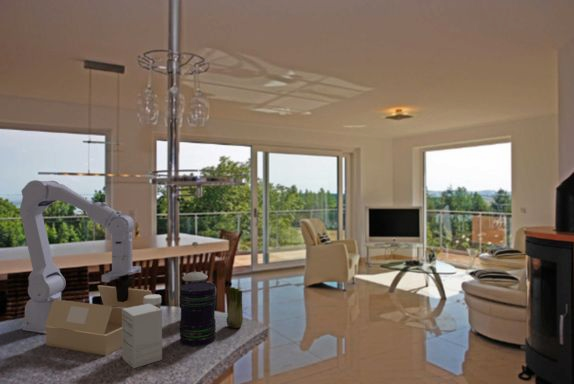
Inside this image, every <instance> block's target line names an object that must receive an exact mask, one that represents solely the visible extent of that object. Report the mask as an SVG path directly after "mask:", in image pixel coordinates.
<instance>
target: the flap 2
mask: <svg viewBox="0 0 574 384" xmlns="http://www.w3.org/2000/svg"><path fill="white" fill-rule="evenodd" d="M97 289H98V292H99V295H100V298H101V300H102V305H106V306H113V307H115V308H123V309H124V308H129V307H134V306H139V305H144V304H143V298H144V296H146V295H152V294H153V293H152V290H149V289H140V288H138V289H137V288H129V289H128V299H127V301H125V302H118V301H117V291H116V287H115V286H110V285H100V284H99V285H97Z"/></svg>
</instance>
